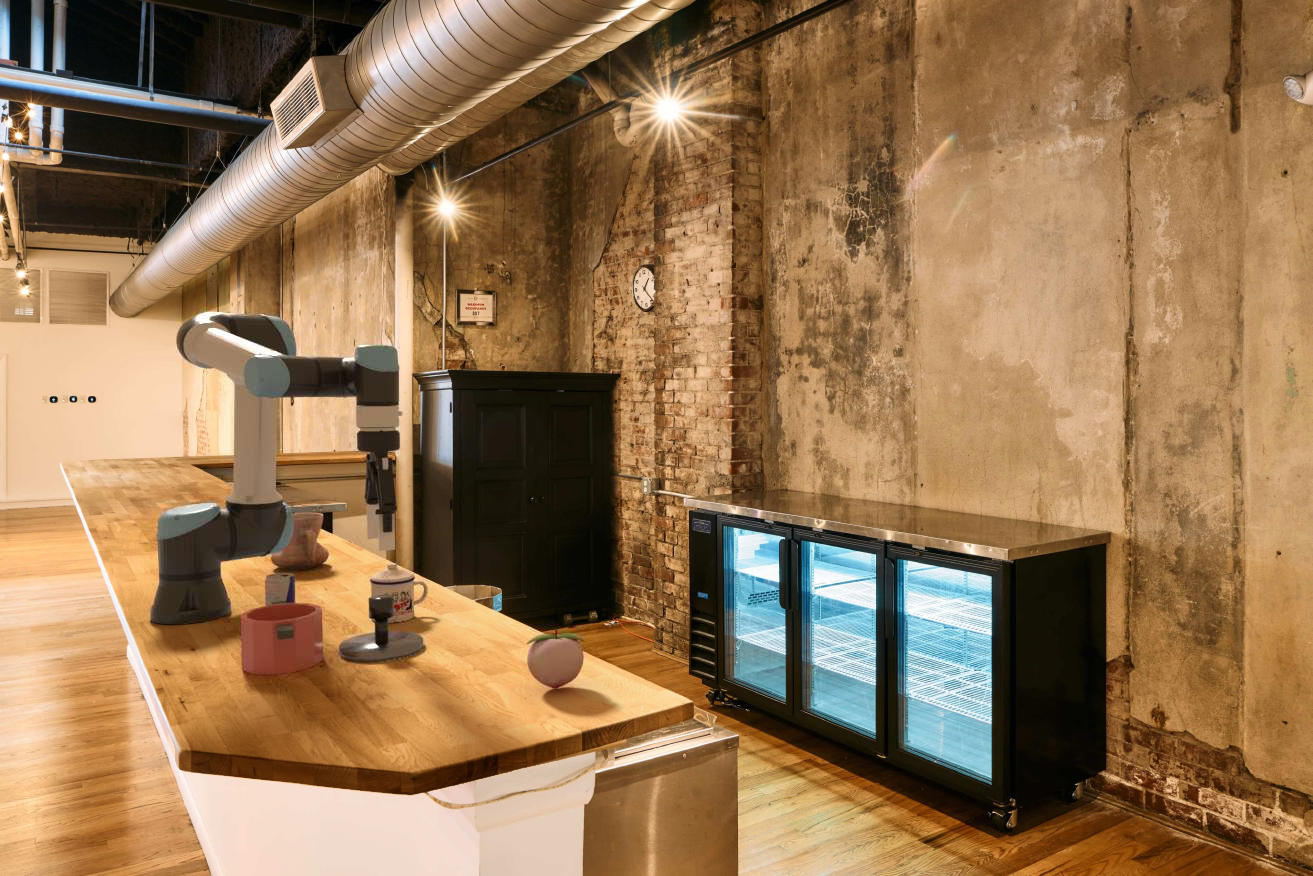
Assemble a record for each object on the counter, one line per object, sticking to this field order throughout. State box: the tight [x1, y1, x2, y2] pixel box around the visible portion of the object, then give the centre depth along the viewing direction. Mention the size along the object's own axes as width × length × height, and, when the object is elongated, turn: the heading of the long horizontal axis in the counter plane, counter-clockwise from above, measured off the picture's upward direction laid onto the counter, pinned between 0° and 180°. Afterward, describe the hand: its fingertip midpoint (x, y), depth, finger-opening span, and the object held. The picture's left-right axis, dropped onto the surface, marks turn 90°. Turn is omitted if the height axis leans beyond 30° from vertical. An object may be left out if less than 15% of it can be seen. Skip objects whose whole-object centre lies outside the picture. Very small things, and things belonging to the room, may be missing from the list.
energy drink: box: [264, 572, 296, 606], centre depth 167 cm, size 5×5×12 cm
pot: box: [240, 601, 324, 676], centre depth 151 cm, size 21×13×9 cm, turn 27°
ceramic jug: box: [270, 512, 330, 570], centre depth 230 cm, size 18×14×14 cm
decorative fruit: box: [526, 627, 586, 689], centre depth 138 cm, size 9×8×10 cm
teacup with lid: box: [369, 562, 429, 624], centre depth 181 cm, size 12×9×12 cm
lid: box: [338, 595, 424, 663], centre depth 159 cm, size 15×15×10 cm
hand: (380, 544), depth 158 cm, fingers open, 13 cm apart
